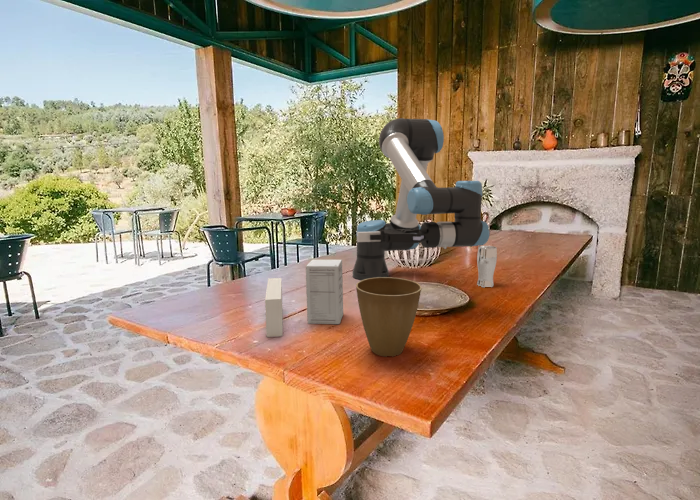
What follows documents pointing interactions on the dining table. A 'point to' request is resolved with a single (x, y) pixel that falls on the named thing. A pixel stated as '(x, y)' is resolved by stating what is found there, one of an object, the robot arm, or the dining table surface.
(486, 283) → the beer glass
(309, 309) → the supplement box
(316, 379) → the dining table surface
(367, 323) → the plant pot
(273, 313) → the white rectangular block
